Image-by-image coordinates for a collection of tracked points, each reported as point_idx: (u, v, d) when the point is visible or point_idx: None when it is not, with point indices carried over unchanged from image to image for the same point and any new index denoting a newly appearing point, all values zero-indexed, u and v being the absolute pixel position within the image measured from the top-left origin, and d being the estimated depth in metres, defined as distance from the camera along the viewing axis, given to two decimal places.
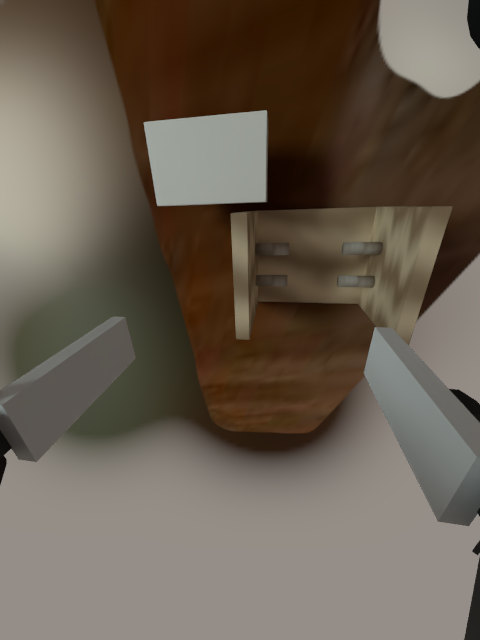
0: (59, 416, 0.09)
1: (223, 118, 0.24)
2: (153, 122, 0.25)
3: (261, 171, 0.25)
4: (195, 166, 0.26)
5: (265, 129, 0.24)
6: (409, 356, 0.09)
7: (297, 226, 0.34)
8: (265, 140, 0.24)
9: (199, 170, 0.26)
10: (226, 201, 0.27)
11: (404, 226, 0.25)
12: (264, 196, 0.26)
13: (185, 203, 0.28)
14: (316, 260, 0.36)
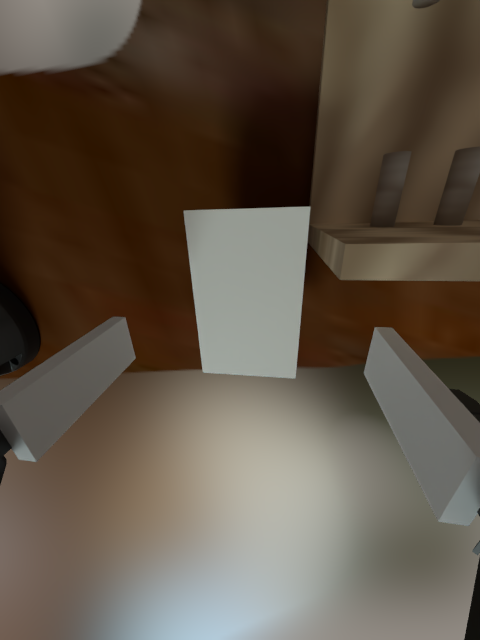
0: (59, 416, 0.09)
1: (195, 277, 0.17)
2: (202, 362, 0.20)
3: (261, 217, 0.15)
4: (249, 320, 0.18)
5: (206, 211, 0.15)
6: (409, 356, 0.09)
7: (344, 147, 0.19)
8: (219, 211, 0.15)
9: (255, 316, 0.18)
10: (301, 279, 0.16)
11: None
12: (301, 209, 0.14)
13: (296, 341, 0.18)
14: (422, 89, 0.17)
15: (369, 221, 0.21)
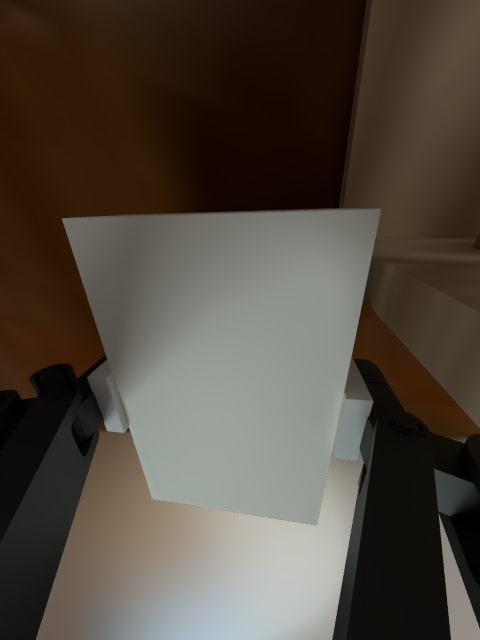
0: None
1: (114, 355, 0.08)
2: (150, 485, 0.11)
3: (247, 236, 0.06)
4: (230, 435, 0.09)
5: (113, 221, 0.06)
6: None
7: (414, 95, 0.10)
8: (145, 220, 0.06)
9: (241, 430, 0.09)
10: (341, 373, 0.07)
11: None
12: (354, 216, 0.05)
13: (323, 475, 0.09)
14: None
15: (447, 234, 0.12)
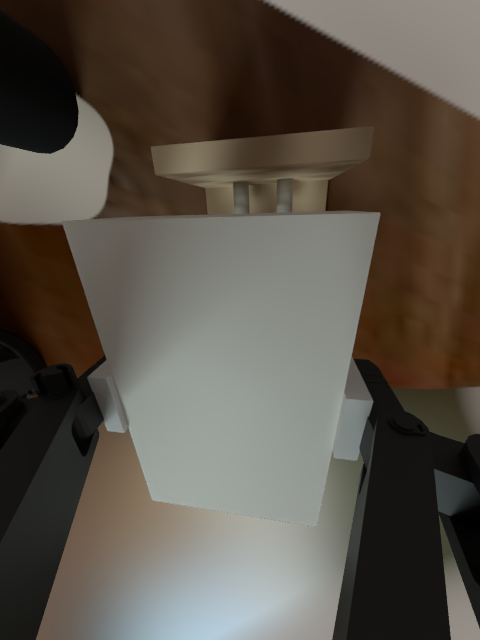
0: None
1: (114, 357, 0.08)
2: (149, 487, 0.11)
3: (247, 239, 0.06)
4: (229, 437, 0.09)
5: (113, 224, 0.06)
6: None
7: None
8: (145, 223, 0.06)
9: (241, 432, 0.09)
10: (341, 375, 0.07)
11: (197, 178, 0.20)
12: (354, 219, 0.05)
13: (322, 477, 0.09)
14: None
15: None
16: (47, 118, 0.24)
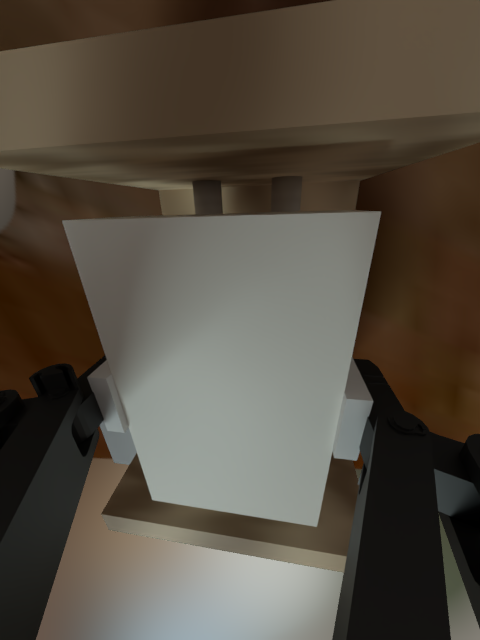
0: None
1: (114, 357, 0.08)
2: (150, 487, 0.11)
3: (247, 238, 0.06)
4: (229, 437, 0.09)
5: (113, 223, 0.06)
6: None
7: None
8: (145, 222, 0.06)
9: (241, 431, 0.09)
10: (341, 375, 0.07)
11: (97, 173, 0.09)
12: (354, 218, 0.05)
13: (323, 477, 0.09)
14: None
15: None
16: None
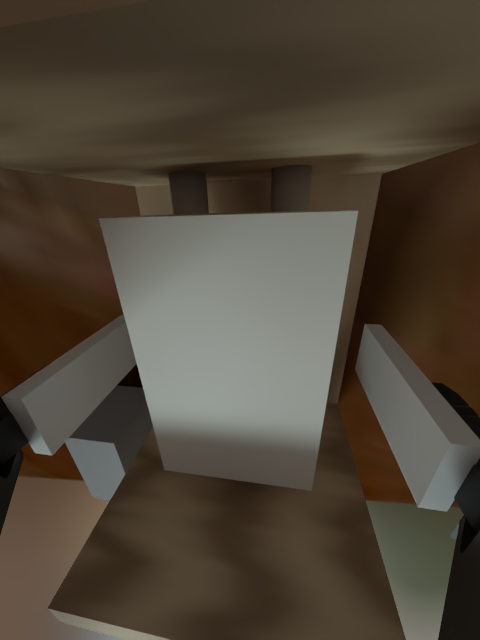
0: (73, 411, 0.10)
1: (136, 336, 0.10)
2: (162, 457, 0.13)
3: (252, 233, 0.07)
4: (235, 407, 0.10)
5: (141, 220, 0.08)
6: (395, 351, 0.09)
7: None
8: (168, 219, 0.07)
9: (245, 401, 0.10)
10: (330, 348, 0.09)
11: (11, 156, 0.06)
12: (337, 216, 0.07)
13: (316, 442, 0.11)
14: None
15: None
16: None
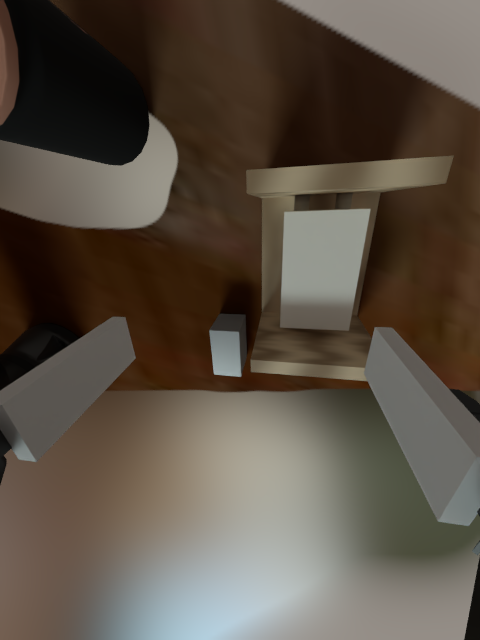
0: (59, 416, 0.09)
1: (285, 256, 0.26)
2: (281, 319, 0.29)
3: (336, 216, 0.23)
4: (320, 287, 0.26)
5: (299, 212, 0.24)
6: (409, 356, 0.09)
7: (277, 276, 0.35)
8: (308, 212, 0.23)
9: (324, 284, 0.26)
10: (360, 257, 0.24)
11: (273, 194, 0.22)
12: (364, 210, 0.22)
13: (352, 302, 0.26)
14: None
15: None
16: (128, 136, 0.27)
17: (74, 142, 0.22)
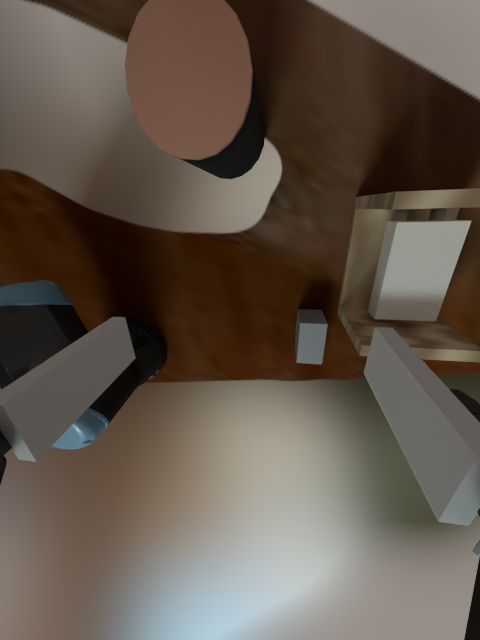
0: (59, 416, 0.09)
1: (391, 259, 0.31)
2: (376, 312, 0.34)
3: (441, 226, 0.28)
4: (416, 284, 0.32)
5: (410, 223, 0.29)
6: (409, 356, 0.09)
7: (358, 276, 0.40)
8: (418, 222, 0.29)
9: (421, 281, 0.31)
10: (456, 259, 0.30)
11: None
12: (466, 222, 0.28)
13: (443, 297, 0.32)
14: None
15: None
16: (254, 156, 0.32)
17: (231, 164, 0.27)
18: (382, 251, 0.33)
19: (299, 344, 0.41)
